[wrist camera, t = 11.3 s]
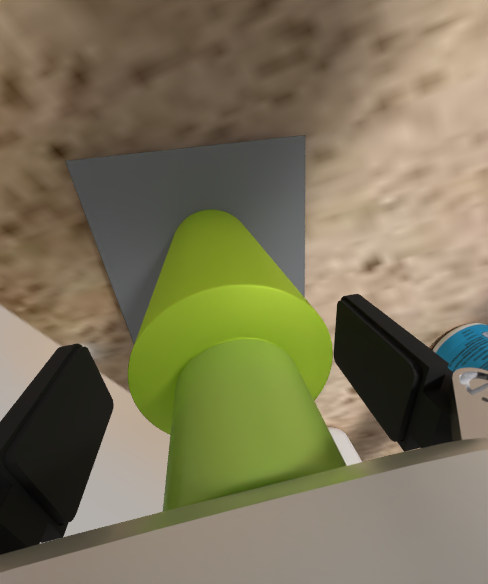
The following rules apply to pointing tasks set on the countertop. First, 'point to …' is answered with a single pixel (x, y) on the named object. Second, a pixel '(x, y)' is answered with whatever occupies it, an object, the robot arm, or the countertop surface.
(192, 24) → the countertop surface
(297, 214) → the charcoal mat
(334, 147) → the countertop surface
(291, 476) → the soap dispenser
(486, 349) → the beverage bottle
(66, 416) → the robot arm
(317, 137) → the countertop surface
